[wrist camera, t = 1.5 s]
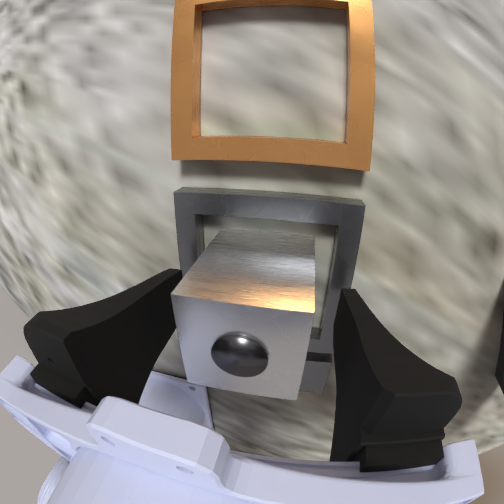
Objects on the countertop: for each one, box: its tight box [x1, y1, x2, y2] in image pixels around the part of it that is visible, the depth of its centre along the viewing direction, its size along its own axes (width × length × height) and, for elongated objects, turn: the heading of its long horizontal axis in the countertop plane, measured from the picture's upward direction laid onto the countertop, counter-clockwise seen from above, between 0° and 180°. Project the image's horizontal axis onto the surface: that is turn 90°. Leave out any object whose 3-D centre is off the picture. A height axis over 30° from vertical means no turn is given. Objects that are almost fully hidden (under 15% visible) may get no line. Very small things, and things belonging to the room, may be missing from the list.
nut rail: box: [171, 0, 375, 393], centre depth 12 cm, size 8×26×1 cm, turn 179°
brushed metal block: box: [171, 228, 315, 400], centre depth 12 cm, size 4×4×6 cm
